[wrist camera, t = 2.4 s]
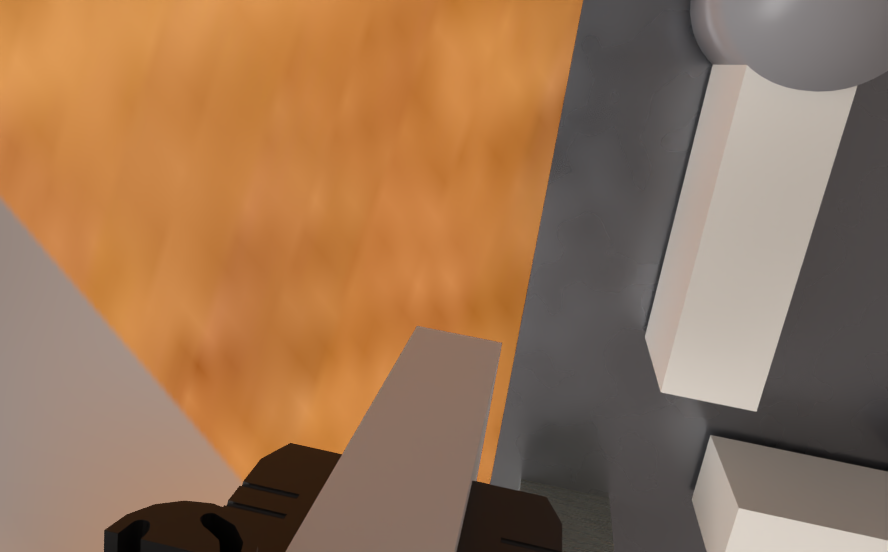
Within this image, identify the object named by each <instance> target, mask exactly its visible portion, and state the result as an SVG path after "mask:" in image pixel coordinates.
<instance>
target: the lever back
mask: <svg viewBox="0 0 888 552" xmlns="http://www.w3.org/2000/svg"><path fill="white" fill-rule="evenodd" d="M692 502H693V506H694V509H695V513H696V516H697V520H698V523H699V527H700V530H701V534H702V537H703V541H704V544H705V548H706V551H707V552H888V472H887V471H882V470H877V469H872V468H868V467H863V466H858V465H853V464H848V463H843V462H839V461H834V460H829V459H824V458H819V457H815V456H810V455H805V454H800V453H795V452H790V451H786V450H781V449H776V448H771V447H766V446H761V445H757V444H752V443H747V442H742V441H737V440H733V439H728V438H723V437H718V436H713V435H710V438H709V442H708V445H707V449H706V452H705V456H704V459H703V462H702V466H701V469H700V473H699V476H698V480H697V483H696V486H695V490H694V493H693V497H692Z"/></svg>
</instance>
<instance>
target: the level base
mask: <svg viewBox="0 0 888 552" xmlns="http://www.w3.org/2000/svg"><path fill="white" fill-rule="evenodd" d="M690 2H691V0H583V4H582V9H581V15H580V20H579V25H578V30H577V35H576V41H575V46H574V51H573V56H572V61H571V66H570V72H569V77H568V82H567V87H566V92H565V98H564V103H563V108H562V113H561V118H560V124H559V129H558V134H557V139H556V144H555V149H554V155H553V160H552V165H551V170H550V175H549V181H548V186H547V191H546V196H545V201H544V207H543V212H542V217H541V222H540V227H539V232H538V238H537V243H536V248H535V253H534V258H533V264H532V269H531V274H530V279H529V284H528V289H527V295H526V300H525V305H524V310H523V315H522V321H521V326H520V331H519V336H518V341H517V347H516V352H515V357H514V362H513V367H512V372H511V378H510V383H509V388H508V393H507V398H506V404H505V409H504V414H503V419H502V424H501V430H500V435H499V440H498V445H497V450H496V455H495V461H494V466H493V471H492V476H491V481H490V484H491V485H495V486H500V487H504V488H509V489H513V490H518V491H522V492H527V493H531V494H536V495H540V496H545V497H547V498H548V500H549V502H550V503H551V505H552V507H553V509H554V510H555V512H556V514H557V515H558V517H559V519H560V521H561V522H562V552H707V551H706V548H705V544H704V541H703V537H702V534H701V530H700V527H699V523H698V520H697V516H696V513H695V509H694V506H693V502H692V497H693V493H694V490H695V486H696V483H697V480H698V476H699V473H700V469H701V466H702V462H703V459H704V456H705V452H706V449H707V445H708V442H709V438H710V435H713V436H718V437H723V438H728V439H733V440H737V441H742V442H747V443H752V444H757V445H761V446H766V447H771V448H776V449H781V450H786V451H790V452H795V453H800V454H805V455H810V456H815V457H819V458H824V459H829V460H834V461H839V462H843V463H848V464H853V465H858V466H863V467H868V468H872V469H877V470H882V471H887V472H888V71H887V72H885V73H883V74H881V75H880V76H878V77H876V78H874V79H872V80H870V81H867V82H865V83H863V84H860V85H858V86H857V89H856V92H855V95H854V99H853V102H852V105H851V108H850V112H849V115H848V118H847V121H846V125H845V128H844V131H843V134H842V137H841V141H840V144H839V147H838V150H837V154H836V157H835V160H834V163H833V166H832V170H831V173H830V176H829V179H828V183H827V186H826V189H825V192H824V195H823V199H822V202H821V205H820V208H819V212H818V215H817V218H816V221H815V224H814V228H813V231H812V234H811V237H810V241H809V244H808V247H807V250H806V253H805V257H804V260H803V263H802V266H801V270H800V273H799V276H798V279H797V283H796V286H795V289H794V292H793V295H792V299H791V302H790V305H789V308H788V312H787V315H786V318H785V321H784V324H783V328H782V331H781V334H780V337H779V341H778V344H777V347H776V350H775V353H774V357H773V360H772V363H771V366H770V370H769V373H768V376H767V379H766V382H765V386H764V389H763V392H762V395H761V399H760V402H759V405H758V408H757V412H755V411H750V410H745V409H741V408H736V407H731V406H726V405H721V404H716V403H711V402H706V401H701V400H696V399H691V398H686V397H681V396H676V395H671V394H666V393H662V392H660V388H659V385H658V381H657V378H656V374H655V371H654V367H653V364H652V360H651V357H650V353H649V350H648V346H647V343H646V339H645V334H646V330H647V326H648V322H649V318H650V314H651V310H652V306H653V302H654V298H655V294H656V290H657V286H658V282H659V278H660V274H661V270H662V266H663V262H664V258H665V254H666V250H667V246H668V242H669V238H670V234H671V230H672V226H673V222H674V218H675V214H676V210H677V206H678V202H679V198H680V194H681V190H682V186H683V182H684V178H685V174H686V170H687V166H688V162H689V158H690V154H691V150H692V146H693V142H694V138H695V134H696V130H697V126H698V122H699V118H700V114H701V110H702V106H703V102H704V98H705V94H706V90H707V86H708V82H709V78H710V74H711V70H712V66H713V64H712V63H711V62H710V61H709V60H708V59H707V58H706V56H705V55H704V54H703V52H702V51H701V49H700V47H699V45H698V43H697V41H696V38H695V36H694V33H693V29H692V24H691V16H690Z"/></svg>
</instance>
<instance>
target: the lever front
mask: <svg viewBox="0 0 888 552" xmlns="http://www.w3.org/2000/svg"><path fill="white" fill-rule="evenodd" d="M690 16H691V24H692V29H693V33H694V36H695V38H696V41H697V43H698V45H699V47H700V49H701V51H702V52H703V54H704V55H705V56H706V58H707V59H708V60H709V61H710V62H711V63H712V64H713V66H712V70H711V74H710V78H709V82H708V86H707V90H706V94H705V98H704V102H703V106H702V110H701V114H700V118H699V122H698V126H697V130H696V134H695V138H694V142H693V146H692V150H691V154H690V158H689V162H688V166H687V170H686V174H685V178H684V182H683V186H682V190H681V194H680V198H679V202H678V206H677V210H676V214H675V218H674V222H673V226H672V230H671V234H670V238H669V242H668V246H667V250H666V254H665V258H664V262H663V266H662V270H661V274H660V278H659V282H658V286H657V290H656V294H655V298H654V302H653V306H652V310H651V314H650V318H649V322H648V326H647V330H646V334H645V339H646V343H647V346H648V350H649V353H650V357H651V360H652V364H653V367H654V371H655V374H656V378H657V381H658V385H659V388H660V392H662V393H666V394H671V395H676V396H681V397H686V398H691V399H696V400H701V401H706V402H711V403H716V404H721V405H726V406H731V407H736V408H741V409H745V410H750V411H755V412H757V408H758V405H759V402H760V399H761V395H762V392H763V389H764V386H765V382H766V379H767V376H768V373H769V370H770V366H771V363H772V360H773V357H774V353H775V350H776V347H777V344H778V341H779V337H780V334H781V331H782V328H783V324H784V321H785V318H786V315H787V312H788V308H789V305H790V302H791V299H792V295H793V292H794V289H795V286H796V283H797V279H798V276H799V273H800V270H801V266H802V263H803V260H804V257H805V253H806V250H807V247H808V244H809V241H810V237H811V234H812V231H813V228H814V224H815V221H816V218H817V215H818V212H819V208H820V205H821V202H822V199H823V195H824V192H825V189H826V186H827V183H828V179H829V176H830V173H831V170H832V166H833V163H834V160H835V157H836V154H837V150H838V147H839V144H840V141H841V137H842V134H843V131H844V128H845V125H846V121H847V118H848V115H849V112H850V108H851V105H852V102H853V99H854V95H855V92H856V89H857V86H858V85H860V84H863V83H865V82H867V81H870V80H872V79H874V78H876V77H878V76H880V75H881V74H883V73H885V72H887V71H888V0H691V2H690Z"/></svg>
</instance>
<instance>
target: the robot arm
mask: <svg viewBox="0 0 888 552" xmlns="http://www.w3.org/2000/svg"><path fill="white" fill-rule="evenodd" d="M501 346H502V343H500V342H495V341H490V340H485V339H480V338H475V337H470V336H465V335H460V334H455V333H450V332H445V331H440V330H435V329H430V328H425V327H420V326H417V327H416V329H415V330H414V332H413V334H412V336H411V337H410V339H409V341H408V342H407V344H406V346H405V348H404V349H403V351H402V353H401V354H400V356H399V358H398V360H397V361H396V363H395V365H394V366H393V368H392V370H391V372H390V373H389V375H388V377H387V378H386V380H385V382H384V384H383V385H382V387H381V389H380V390H379V392H378V394H377V396H376V397H375V399H374V401H373V402H372V404H371V406H370V408H369V409H368V411H367V413H366V414H365V416H364V418H363V420H362V421H361V423H360V425H359V426H358V428H357V430H356V432H355V433H354V435H353V437H352V438H351V440H350V442H349V444H348V445H347V447H346V449H345V450H344V452H343V454H338V453H333V452H329V451H324V450H320V449H315V448H311V447H306V446H302V445H297V444H293V443H290V444H288V445H286V446H284V447H282V448H280V449H278V450H277V451H275V452H273V453H271V454H269V455H267V456H265V457H264V458H262V459H261V460H260V461H259V462H258V463H257V465H256V466H255V467H254V468H253V470H252V471H251V472H250V474H249V475H248V476H247V477H246V479H245V480H244V481H243V485H242V486H239V488H238V489H237V490H236V491H235V493H234V494H233V495H232V497H231V498H230V499H229V500H228V504H227V506H224V507H220V506H217V505H215V504H211V503H202V502H192V501H178V502H170V503H162V504H155V505H152V506H149V507H147V508H143V509H141V510H138V511H135V512H132V513H130V514H127V515H125V516H124V517H123V518H121V519H120V520H118V521H117V522H115V523H114V524H113V525H111V526H110V527H108V528H107V529H106V530H105V531H104V552H562V522H561V521H560V519H559V517H558V515H557V514H556V512H555V510H554V509H553V507H552V505H551V503H550V502H549V500H548V498H547V497H545V496H540V495H536V494H531V493H527V492H522V491H518V490H513V489H509V488H504V487H500V486H495V485H491V484H486V483H481V482H477V481H476V480H477V475H478V469H479V464H480V459H481V453H482V448H483V443H484V437H485V432H486V426H487V421H488V416H489V410H490V405H491V400H492V394H493V389H494V383H495V378H496V373H497V367H498V362H499V357H500V351H501Z"/></svg>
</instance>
